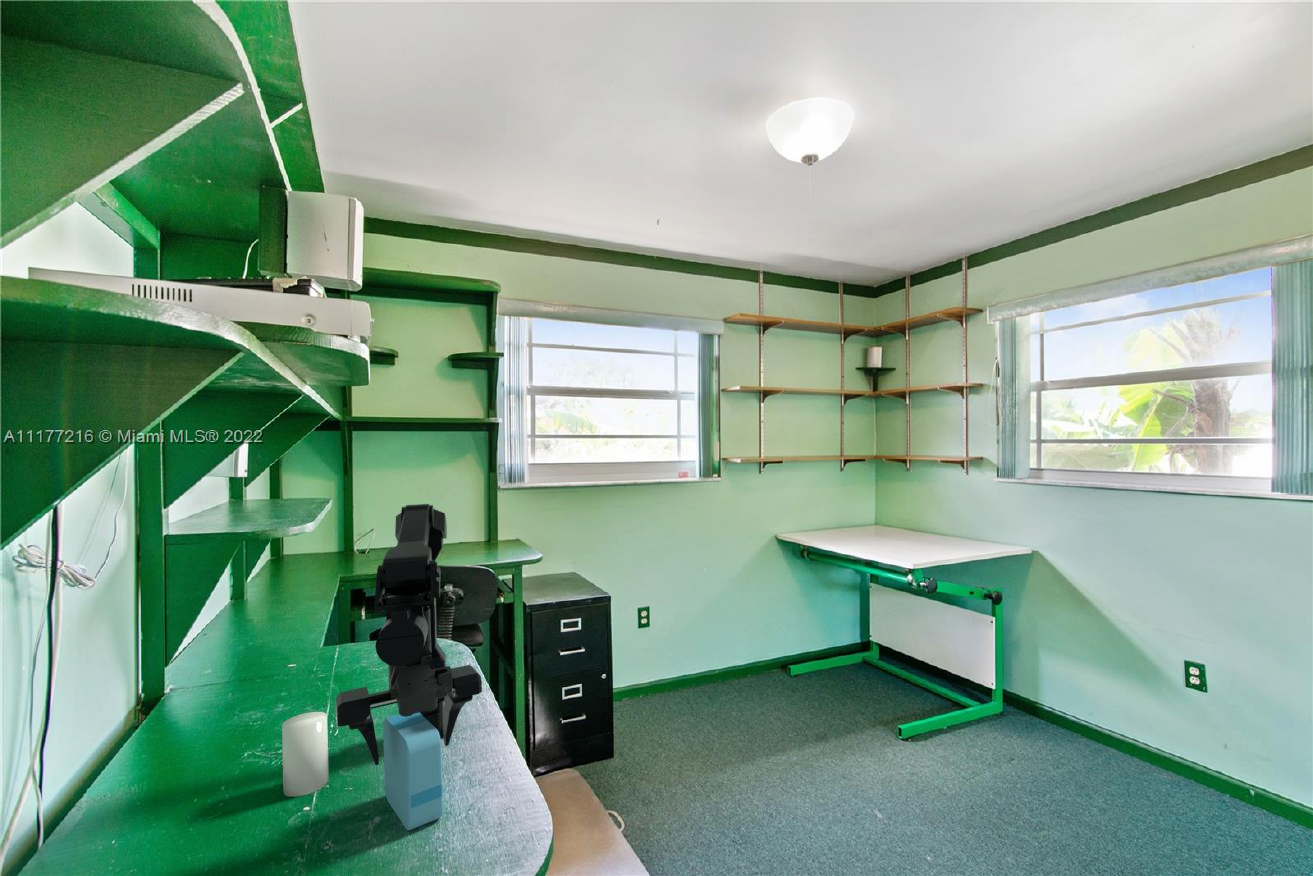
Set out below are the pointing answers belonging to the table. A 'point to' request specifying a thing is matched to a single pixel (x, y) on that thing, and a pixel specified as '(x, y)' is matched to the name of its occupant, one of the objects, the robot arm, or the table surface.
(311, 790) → the white rounded cylinder
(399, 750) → the light blue rounded block
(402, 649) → the robot arm
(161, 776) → the table surface
